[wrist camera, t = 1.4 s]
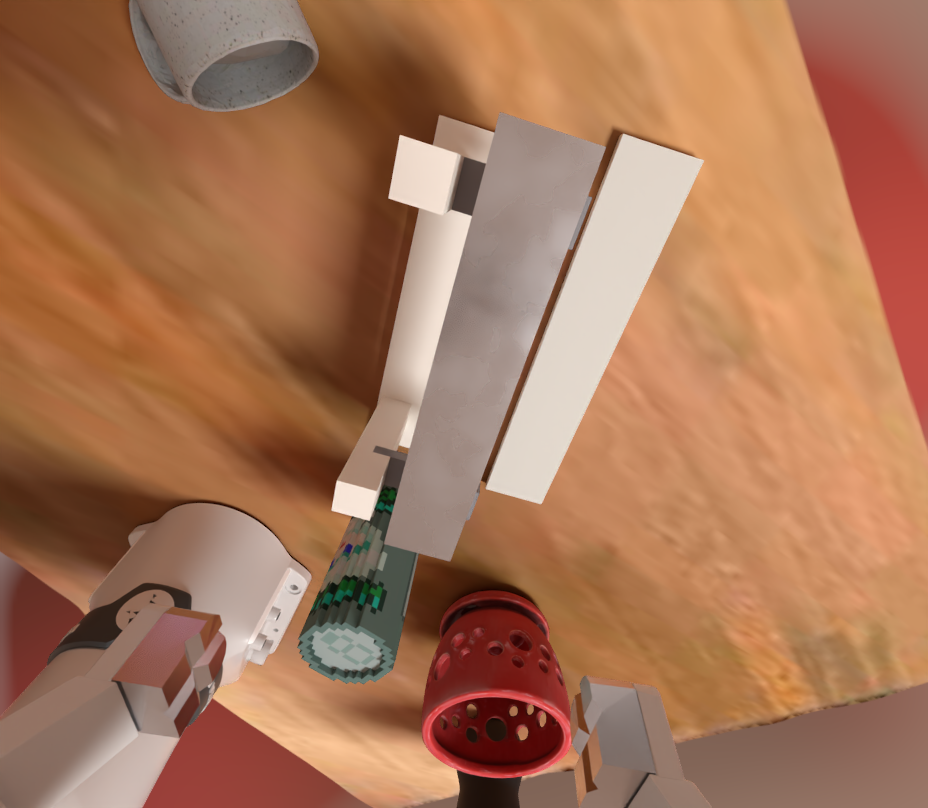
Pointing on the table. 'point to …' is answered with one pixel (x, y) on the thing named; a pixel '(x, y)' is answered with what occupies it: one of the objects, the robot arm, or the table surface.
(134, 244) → the table surface
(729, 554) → the table surface
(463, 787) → the cola bottle
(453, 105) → the table surface
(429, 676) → the plant pot
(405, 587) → the can
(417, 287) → the rack
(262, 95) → the ceramic mug
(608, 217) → the panel
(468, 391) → the rail
